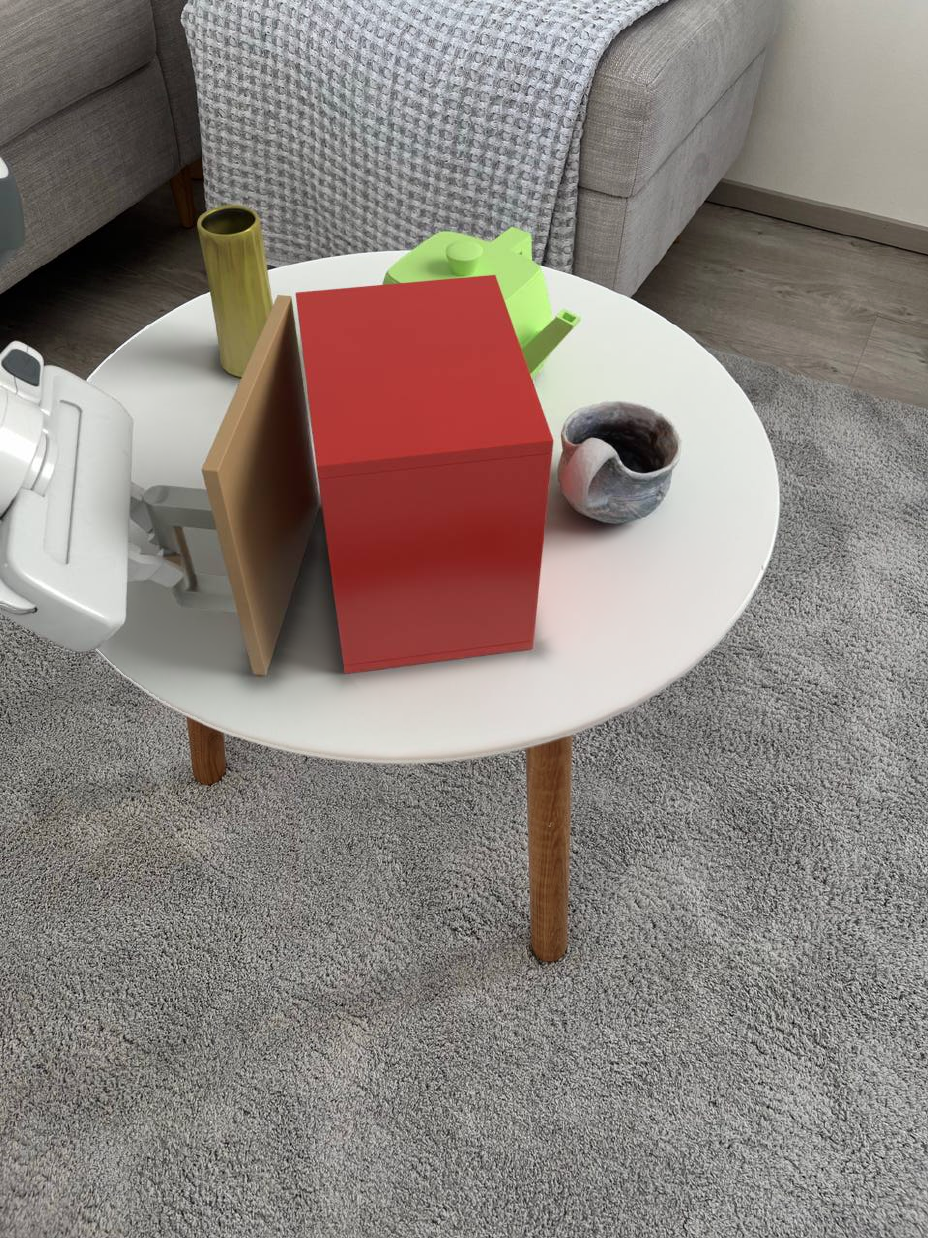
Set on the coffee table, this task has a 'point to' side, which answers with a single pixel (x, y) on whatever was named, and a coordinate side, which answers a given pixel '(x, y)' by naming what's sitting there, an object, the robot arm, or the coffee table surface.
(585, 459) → the mug
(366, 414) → the cabinet
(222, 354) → the vase
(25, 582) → the robot arm
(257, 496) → the door
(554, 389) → the coffee table surface
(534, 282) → the teapot
